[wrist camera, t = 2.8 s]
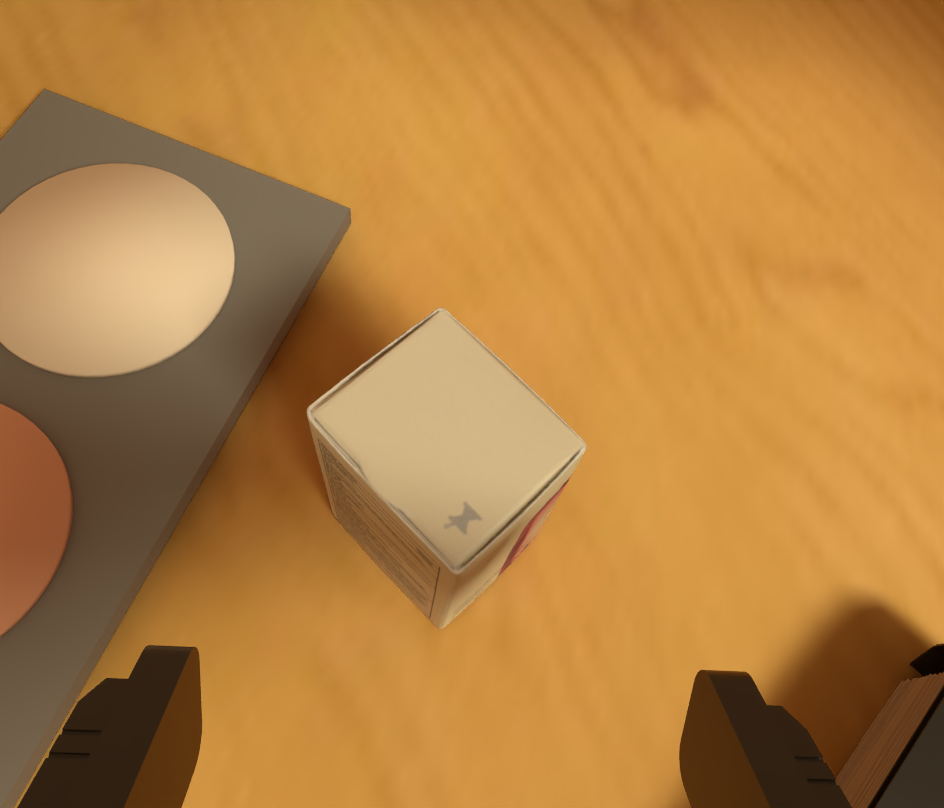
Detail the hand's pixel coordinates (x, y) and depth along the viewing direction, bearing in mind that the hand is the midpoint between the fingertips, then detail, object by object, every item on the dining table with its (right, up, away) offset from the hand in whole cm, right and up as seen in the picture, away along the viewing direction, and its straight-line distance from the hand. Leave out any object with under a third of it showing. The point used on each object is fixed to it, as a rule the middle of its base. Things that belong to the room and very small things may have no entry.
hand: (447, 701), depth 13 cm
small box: (-1, +1, +12) cm, 12 cm away
